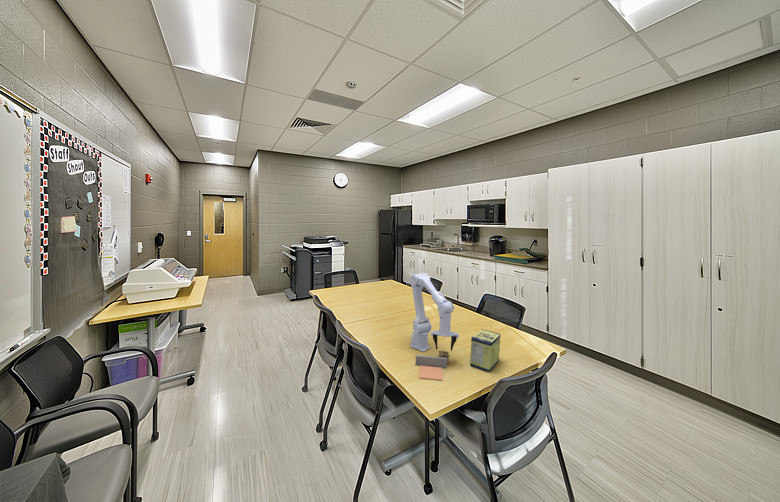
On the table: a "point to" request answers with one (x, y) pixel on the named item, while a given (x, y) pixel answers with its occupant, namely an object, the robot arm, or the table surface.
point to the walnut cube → (444, 355)
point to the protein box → (485, 350)
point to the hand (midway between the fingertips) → (443, 349)
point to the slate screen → (431, 361)
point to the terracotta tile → (430, 373)
